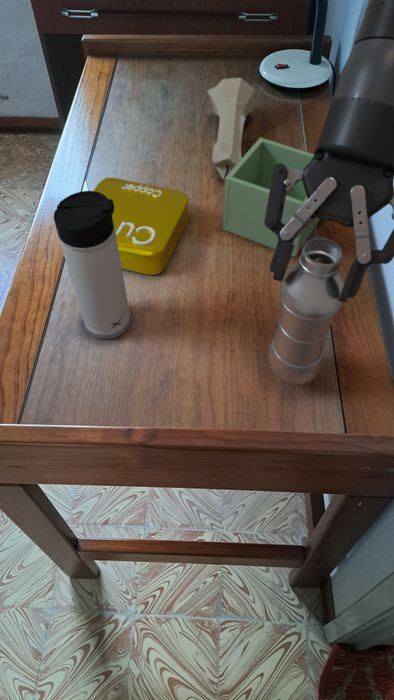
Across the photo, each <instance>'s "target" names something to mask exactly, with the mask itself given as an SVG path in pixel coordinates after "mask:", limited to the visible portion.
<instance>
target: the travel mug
mask: <svg viewBox="0 0 394 700" xmlns="http://www.w3.org/2000/svg"><path fill="white" fill-rule="evenodd" d="M113 213H114V203H113V200H112V199H108V198H107V197H106V196H105V195H104V194H102V193H99V192H96V191H94V190H82V191H78V192H75V193H72V194H70V195H68V196H66V197H65V198H63V199H62V200H60V202H59V203H58V204H57V206H56V209H55V210H54V212H53V221H54V224H55V228H56V232H57V237H58V240H59V244H60V247H61V250H62V253H63V257H64V260H65V263H66V268H67V271H68V273H69V277H70V281H71V283H72V287H73V290H74V293H75V298H76V300H77V303H78V308H79V310H80V313H81V317H82V321H83V324H84V327H85V330H86V331H87V333H89V335H91V336H92V337H94V338H96V339H100V340H110V339H115V338H117V337H120V336H121V335H123V334H124V333H125V332H126V331H127V330H128V329H129V327H130V325H131V313H130V307H129V301H128V296H127V290H126V284H125V277H124V273H123V269H122V267H121V261H120V255H119V250H118V244H117V238H116V233H115V227H114V223H113V220H112V214H113Z"/></svg>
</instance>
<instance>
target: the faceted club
mask: <svg viewBox="0 0 394 700" xmlns="http://www.w3.org/2000/svg"><path fill="white" fill-rule="evenodd" d="M207 93H208V95H209V97H210V99H211V102H212V109H213V112H214V114H215V115H216V116H218V117H219V121H218V123H219V124H218V131H217V139H216V142H215V143H214V145H213V150H212V157H211V162H212V163H213V165H214V167H215V169H216V171H217V172H218V174H219V176H220V177H221V179H222V180H224V181H225V177H226V176H227V175H228V174H229V173H230V172H231V171H232V169H233V168H234V167H235V166H236V165H237V164H238V162H239V161H240V160H241V159H242V158H243V157H242V146H243V145H242V144H243V131H244V125H245V122H246V118H247V117H248V116H249V114H251V113H252V112H253V110H254V109H255V107H256V89H255V88H254V87H253V86H252V85H251V84H249V83H248V82H247V81H246V80H244V78H242V77H232V78H222V79H221V81H220V82H219V83H217V85H216V86H213V87H212V88H210V89H208V90H207Z"/></svg>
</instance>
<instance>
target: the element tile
mask: <svg viewBox="0 0 394 700" xmlns="http://www.w3.org/2000/svg"><path fill="white" fill-rule="evenodd" d="M93 191H96V192H99V193H102V194H104V195H105V196H106V197H107V198H108V199H112V200H113V203H114V213H113V214H112V220H113V223H114V227H115V233H116V238H117V244H118V250H119V255H120V261H121V267H122V270H126V271H130V272H135V273H140V274H142V275H148V276H153V275H154V276H156V275H159V274H161V273H162V272H164V270H165V269H166V267H167V265H168V263H169V261H170V259H171V257H172V256H173V255H172V254H173V252H174V251H175V249H176V247H177V244H178V243H179V240H180V238H181V236H182V234H183V233H184V230H185V229H186V226H187V224H188V222H189V218H190V217H189V216H190V215H189V196H188V195H187V194H186V193H185V192H183V191H180V190H177V189H172V188H167V187H162V186H157V185H151V184H147V183H142V182H137V181H133V180H126V179H122V178H117V177H105V178H104V179H102V180H101V181H99V182H98V183H97V185H96V186H95V188H94V189H93Z"/></svg>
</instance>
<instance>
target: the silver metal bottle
mask: <svg viewBox="0 0 394 700" xmlns="http://www.w3.org/2000/svg"><path fill="white" fill-rule="evenodd" d="M342 260H343V249H342V248H341V246H340V245H339V244H338V243H337V242H336V241H334V240H332V239H329V238H328V237H327V238H326V237H314V238H310V239H307V240H306V242H305V243H304V245H303V246H302V248H301V253H300V255H299V257H298V262H296V263H294V264H292V265H291V266H290V267H289V268H287V269H286V272H285V275H284V278H283V280H282V281H280V284H279V285H280V286H279V309H280V310H279V319H278V326H277V328H276V332H275V335H274V337H273V338H272V340H271V342H270V345H269V348H268V350H267V351H268V354H267V356H268V365H269V368H270V370H271V371H272V373H273V374H274V375H275V376H276V377H277V378H278V379H279V380H281V381H282V382H285V383H288V384H290V385H291V384H292V385H304V384H307V383H310V382H312V381H313V380H315V378H316V377H317V376H318V374H319V372H320V371H322V368H323V365H324V358H325V344H326V337H327V334H328V333H329V332H328V331H329V329H330V327H331V325H332V323H333V320H334V318H335V317H336V315H337V314H338V312H339V310H340V308H341V307H342V305H343V302H342V301H339V297H340V294H341V292H342V289H343V286H344V283H345V282H344V280H343V278H342V276H341V275H340V273H339V272H340V270H341V263H342Z"/></svg>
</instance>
